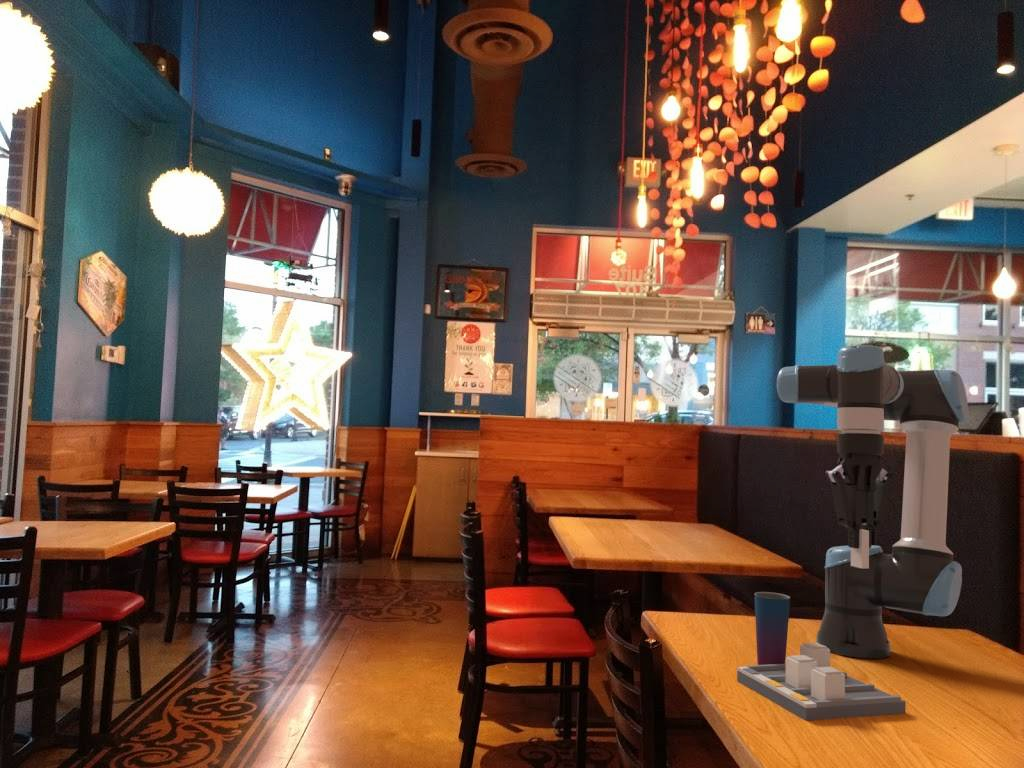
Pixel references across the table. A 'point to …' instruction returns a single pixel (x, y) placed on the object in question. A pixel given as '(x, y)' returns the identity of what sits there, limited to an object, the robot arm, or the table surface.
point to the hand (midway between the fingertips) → (859, 566)
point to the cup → (771, 627)
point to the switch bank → (801, 703)
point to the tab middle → (799, 670)
